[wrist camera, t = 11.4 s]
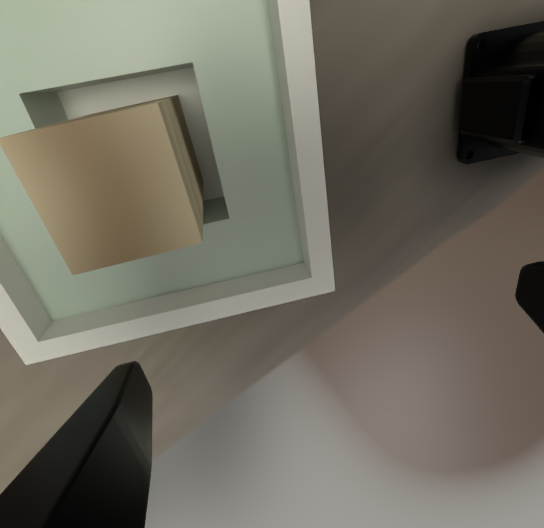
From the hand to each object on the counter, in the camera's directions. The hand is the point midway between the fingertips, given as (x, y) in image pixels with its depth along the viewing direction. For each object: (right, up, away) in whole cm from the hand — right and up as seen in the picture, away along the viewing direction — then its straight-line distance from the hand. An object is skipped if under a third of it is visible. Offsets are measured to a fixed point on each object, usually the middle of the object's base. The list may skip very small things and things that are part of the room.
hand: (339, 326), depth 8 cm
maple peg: (-7, +7, +9) cm, 13 cm away
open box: (-8, +7, +10) cm, 14 cm away
